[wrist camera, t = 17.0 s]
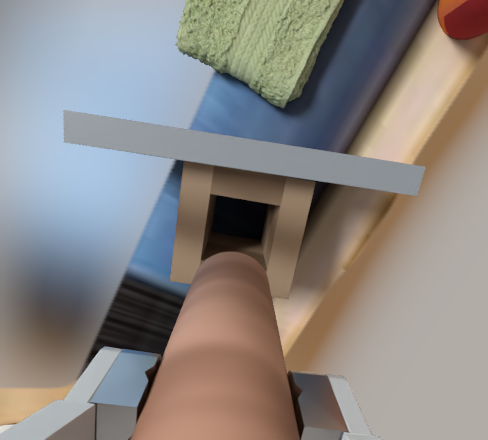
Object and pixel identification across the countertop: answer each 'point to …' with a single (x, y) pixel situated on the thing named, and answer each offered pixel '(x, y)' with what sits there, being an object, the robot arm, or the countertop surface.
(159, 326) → the countertop surface
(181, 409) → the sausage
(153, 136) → the wall
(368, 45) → the countertop surface
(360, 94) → the countertop surface
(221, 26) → the washcloth
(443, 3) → the paper cup
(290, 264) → the block
